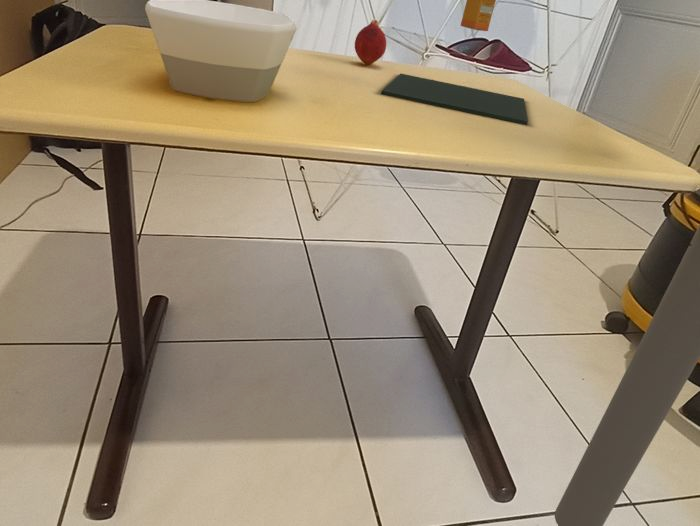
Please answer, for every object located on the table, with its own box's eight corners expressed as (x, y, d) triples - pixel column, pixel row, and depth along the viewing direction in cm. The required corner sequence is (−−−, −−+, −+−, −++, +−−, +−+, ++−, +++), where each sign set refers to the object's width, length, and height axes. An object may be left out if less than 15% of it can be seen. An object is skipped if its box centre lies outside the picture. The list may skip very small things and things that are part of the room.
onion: (380, 70, 102) (388, 23, 98) (349, 64, 102) (356, 17, 98) (384, 66, 107) (391, 21, 103) (354, 60, 107) (361, 15, 103)
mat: (523, 101, 97) (524, 98, 97) (527, 124, 81) (528, 121, 81) (400, 76, 100) (400, 73, 100) (380, 94, 84) (381, 90, 84)
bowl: (127, 93, 64) (124, 4, 59) (169, 65, 79) (169, -7, 75) (283, 116, 65) (291, 31, 61) (294, 84, 81) (301, 14, 76)
